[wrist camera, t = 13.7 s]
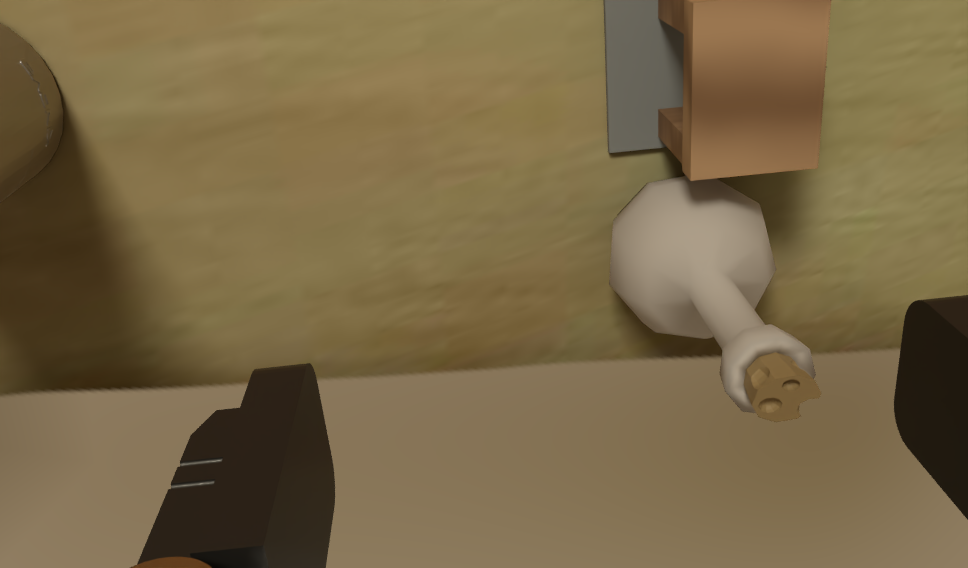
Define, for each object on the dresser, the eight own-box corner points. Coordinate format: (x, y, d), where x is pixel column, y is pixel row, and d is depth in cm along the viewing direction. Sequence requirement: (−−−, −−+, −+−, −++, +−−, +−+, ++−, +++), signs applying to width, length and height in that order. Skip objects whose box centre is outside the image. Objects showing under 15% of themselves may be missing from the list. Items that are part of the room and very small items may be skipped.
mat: (608, 150, 48) (609, 153, 48) (603, -23, 44) (604, -22, 44) (808, 130, 48) (810, 132, 48) (820, -45, 45) (823, -44, 44)
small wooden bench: (655, -16, 44) (693, 3, 38) (773, -28, 44) (832, -11, 38) (655, 139, 48) (690, 180, 41) (765, 128, 48) (817, 168, 41)
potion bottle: (775, 185, 50) (944, 339, 33) (705, 319, 53) (829, 518, 37) (633, 136, 48) (739, 271, 32) (571, 277, 51) (638, 466, 35)
